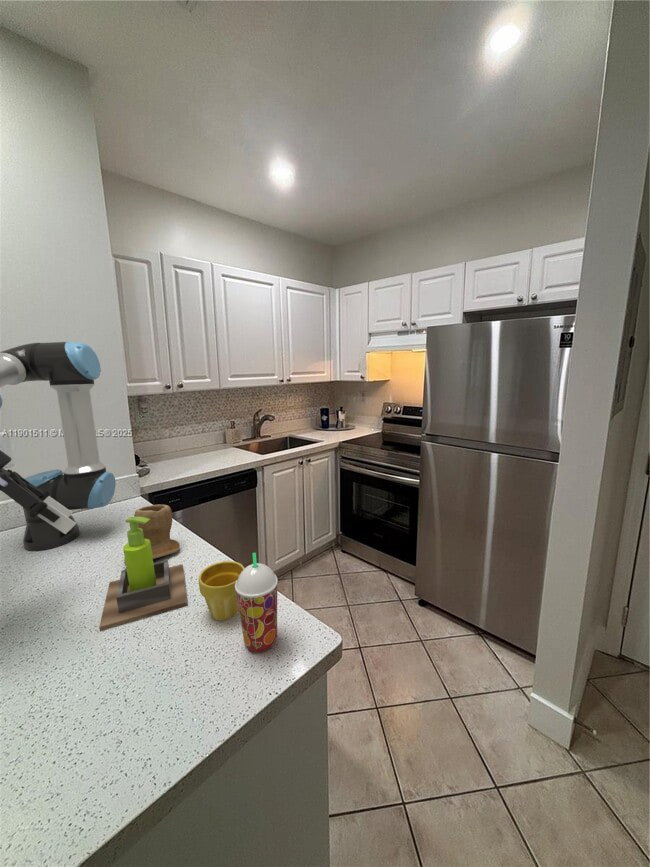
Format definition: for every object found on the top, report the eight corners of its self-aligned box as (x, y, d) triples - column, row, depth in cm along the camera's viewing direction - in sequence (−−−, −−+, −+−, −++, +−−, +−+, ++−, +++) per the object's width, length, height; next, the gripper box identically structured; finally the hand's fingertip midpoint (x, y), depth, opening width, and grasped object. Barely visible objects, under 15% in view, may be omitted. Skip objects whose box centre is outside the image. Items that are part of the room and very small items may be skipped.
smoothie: (243, 628, 76) (235, 544, 72) (282, 625, 77) (276, 541, 73) (237, 660, 68) (228, 567, 64) (280, 656, 69) (274, 564, 65)
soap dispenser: (150, 601, 85) (138, 524, 81) (125, 598, 86) (112, 522, 82) (165, 586, 90) (155, 513, 86) (142, 583, 92) (131, 512, 88)
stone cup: (175, 539, 117) (170, 496, 114) (182, 555, 107) (176, 509, 104) (123, 553, 109) (116, 508, 106) (125, 572, 99) (117, 522, 96)
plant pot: (256, 600, 85) (253, 564, 83) (232, 631, 76) (228, 590, 74) (220, 592, 89) (216, 557, 87) (192, 621, 79) (187, 582, 77)
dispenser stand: (110, 585, 93) (107, 568, 92) (183, 567, 100) (181, 551, 99) (99, 631, 77) (96, 610, 76) (187, 605, 84) (185, 586, 83)
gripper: (-31, 469, 79) (54, 525, 88) (-57, 480, 60) (55, 550, 69) (1, 445, 82) (79, 501, 92) (-14, 447, 63) (88, 518, 72)
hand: (69, 522), depth 80 cm, fingers open, 13 cm apart
